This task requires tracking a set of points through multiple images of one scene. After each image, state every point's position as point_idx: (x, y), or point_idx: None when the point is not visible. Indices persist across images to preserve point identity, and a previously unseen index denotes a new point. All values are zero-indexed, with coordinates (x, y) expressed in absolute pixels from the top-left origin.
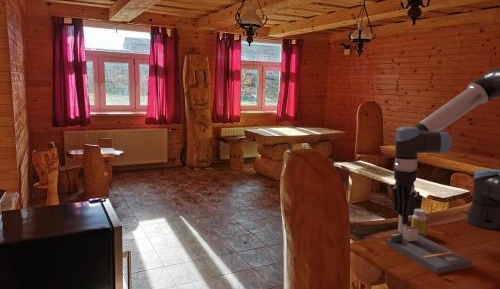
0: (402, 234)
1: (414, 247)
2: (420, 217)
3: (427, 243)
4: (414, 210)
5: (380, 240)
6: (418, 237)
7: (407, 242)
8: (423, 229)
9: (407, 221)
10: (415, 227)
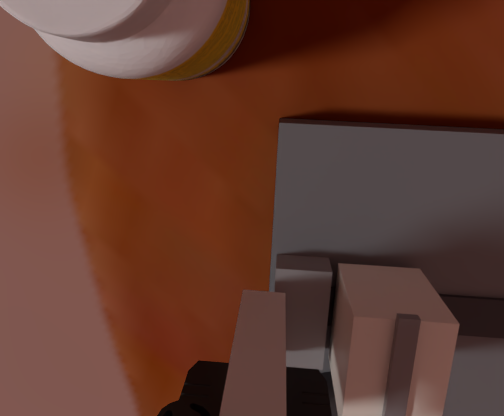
0: (297, 344)
1: (500, 380)
2: (185, 11)
3: (498, 217)
4: (15, 16)
5: None
6: (348, 182)
7: None
8: (245, 3)
9: (328, 404)
10: (417, 329)
